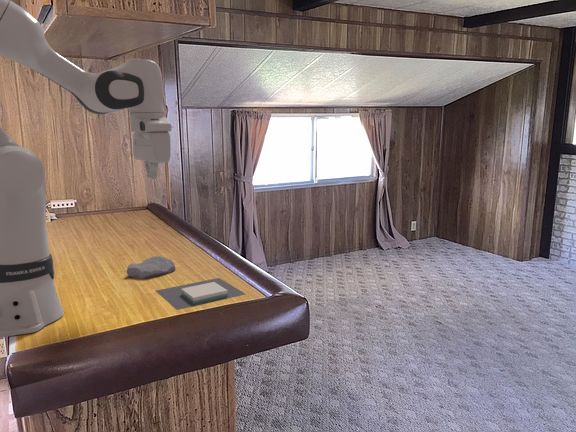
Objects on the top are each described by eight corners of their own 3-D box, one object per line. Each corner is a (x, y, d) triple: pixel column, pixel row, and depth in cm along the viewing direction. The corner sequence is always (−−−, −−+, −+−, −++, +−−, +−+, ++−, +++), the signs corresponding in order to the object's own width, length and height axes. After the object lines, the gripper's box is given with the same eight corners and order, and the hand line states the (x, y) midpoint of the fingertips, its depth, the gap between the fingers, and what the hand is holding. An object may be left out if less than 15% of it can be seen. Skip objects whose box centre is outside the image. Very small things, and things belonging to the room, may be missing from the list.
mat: (177, 312, 110) (177, 309, 109) (155, 292, 123) (155, 290, 123) (246, 296, 119) (245, 293, 119) (219, 279, 132) (218, 277, 132)
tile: (181, 294, 119) (193, 304, 113) (181, 288, 119) (193, 297, 112) (214, 287, 124) (227, 296, 118) (214, 281, 124) (227, 290, 117)
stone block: (179, 277, 141) (157, 265, 147) (180, 263, 140) (158, 251, 145) (146, 290, 132) (124, 277, 138) (146, 274, 131) (124, 262, 136)
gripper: (125, 125, 128) (129, 176, 131) (148, 124, 111) (152, 182, 114) (148, 125, 132) (151, 174, 134) (173, 124, 115) (177, 180, 117)
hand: (152, 178), depth 124 cm, fingers closed
